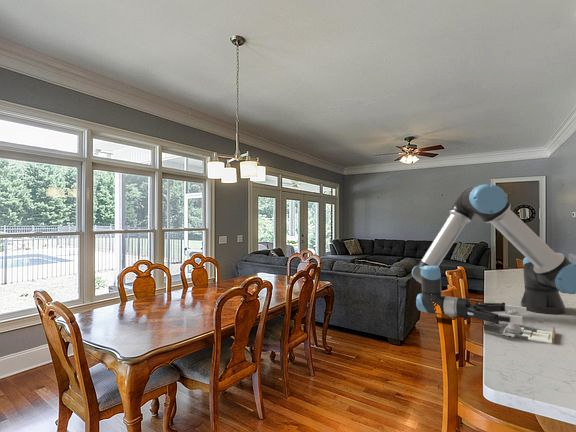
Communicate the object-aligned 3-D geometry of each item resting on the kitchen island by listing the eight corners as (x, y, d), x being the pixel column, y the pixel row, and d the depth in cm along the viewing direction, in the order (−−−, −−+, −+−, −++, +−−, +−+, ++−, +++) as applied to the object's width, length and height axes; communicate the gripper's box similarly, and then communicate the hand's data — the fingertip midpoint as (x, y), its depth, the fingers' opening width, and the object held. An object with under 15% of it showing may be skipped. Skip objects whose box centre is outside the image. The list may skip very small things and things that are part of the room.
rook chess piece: (515, 329, 116) (514, 307, 116) (525, 333, 112) (523, 311, 112) (503, 330, 116) (502, 308, 116) (512, 334, 111) (511, 311, 112)
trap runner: (507, 326, 120) (506, 320, 120) (555, 333, 111) (555, 327, 111) (502, 335, 111) (501, 329, 111) (554, 344, 102) (553, 337, 102)
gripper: (466, 309, 135) (528, 317, 121) (449, 325, 116) (521, 337, 102) (465, 291, 135) (527, 297, 121) (448, 304, 117) (519, 313, 102)
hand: (524, 315), depth 112 cm, fingers open, 13 cm apart
